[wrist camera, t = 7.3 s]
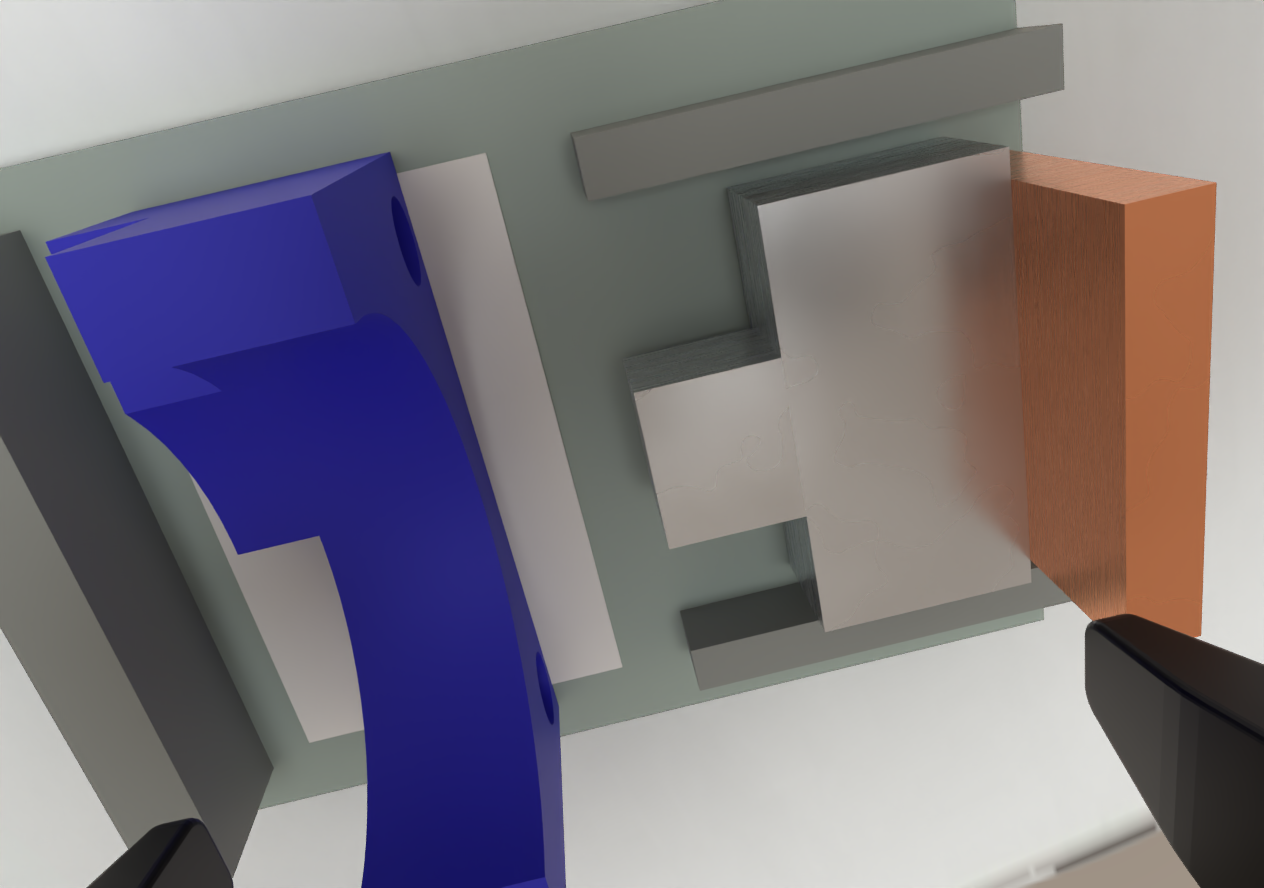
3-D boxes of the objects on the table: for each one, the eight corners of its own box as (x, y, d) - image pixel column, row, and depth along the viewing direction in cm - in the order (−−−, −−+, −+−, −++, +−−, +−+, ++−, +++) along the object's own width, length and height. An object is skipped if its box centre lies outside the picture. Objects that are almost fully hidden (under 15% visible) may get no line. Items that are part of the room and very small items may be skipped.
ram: (1007, 121, 17) (1217, 141, 11) (1027, 509, 20) (1200, 661, 14) (590, 219, 16) (615, 284, 11) (676, 593, 19) (726, 777, 14)
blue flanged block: (131, 211, 16) (-89, 288, 10) (389, 151, 16) (311, 194, 10) (359, 754, 20) (294, 1010, 15) (558, 706, 20) (567, 943, 15)
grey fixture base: (985, -61, 16) (1116, -99, 13) (1022, 596, 22) (1122, 703, 18) (-61, 184, 16) (-236, 217, 12) (237, 786, 22) (176, 933, 18)
